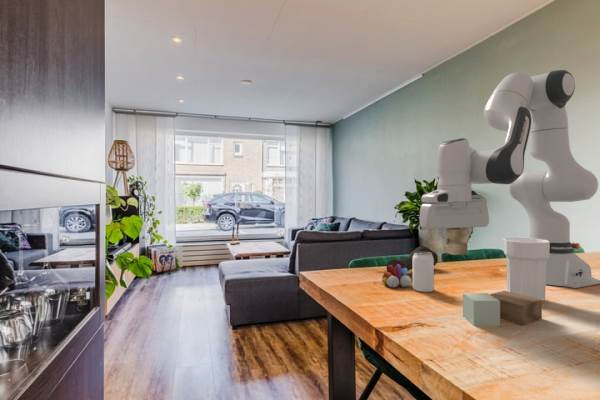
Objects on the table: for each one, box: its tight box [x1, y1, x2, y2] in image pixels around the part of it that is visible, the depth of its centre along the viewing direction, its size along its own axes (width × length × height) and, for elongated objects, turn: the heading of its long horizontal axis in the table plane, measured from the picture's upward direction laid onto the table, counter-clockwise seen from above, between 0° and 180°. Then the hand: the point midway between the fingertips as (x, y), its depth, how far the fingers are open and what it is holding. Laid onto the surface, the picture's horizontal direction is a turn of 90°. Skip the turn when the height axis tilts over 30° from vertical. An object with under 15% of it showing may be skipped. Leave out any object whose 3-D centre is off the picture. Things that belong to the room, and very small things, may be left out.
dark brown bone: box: [386, 245, 439, 273], centre depth 132 cm, size 11×10×28 cm
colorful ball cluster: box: [381, 264, 412, 289], centre depth 113 cm, size 8×10×7 cm
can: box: [412, 252, 435, 293], centre depth 107 cm, size 6×6×12 cm
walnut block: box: [489, 290, 543, 327], centre depth 83 cm, size 9×9×5 cm
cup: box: [503, 237, 550, 304], centre depth 97 cm, size 11×11×17 cm
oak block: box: [442, 228, 468, 256], centre depth 95 cm, size 4×4×7 cm
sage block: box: [462, 292, 501, 327], centre depth 80 cm, size 6×6×6 cm
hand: (454, 243), depth 95 cm, fingers closed on oak block, 4 cm apart
